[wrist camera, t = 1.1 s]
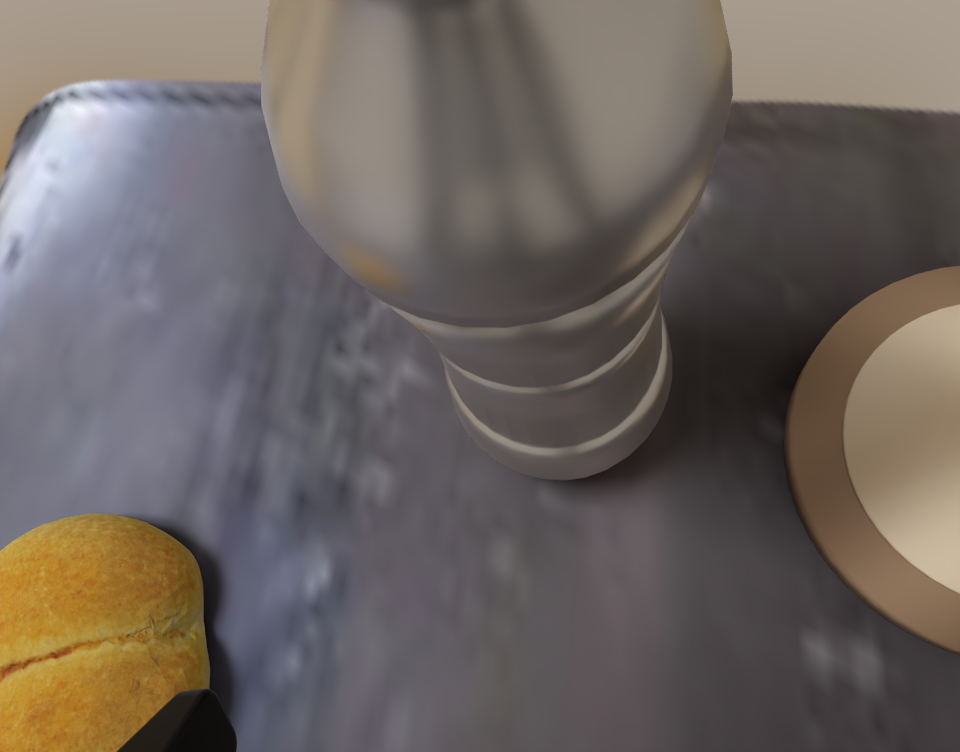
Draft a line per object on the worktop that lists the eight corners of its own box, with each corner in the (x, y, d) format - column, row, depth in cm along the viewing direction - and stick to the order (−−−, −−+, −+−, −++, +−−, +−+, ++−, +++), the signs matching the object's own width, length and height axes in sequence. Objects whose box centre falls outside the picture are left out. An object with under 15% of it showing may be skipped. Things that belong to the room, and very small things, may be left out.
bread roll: (205, 491, 25) (133, 469, 22) (238, 782, 22) (162, 814, 18) (-15, 555, 26) (-122, 544, 22) (-12, 846, 23) (-135, 889, 19)
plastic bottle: (657, 286, 25) (783, -797, 6) (677, 492, 22) (978, -174, 4) (464, 302, 26) (44, -572, 7) (465, 501, 23) (-140, 16, 5)
